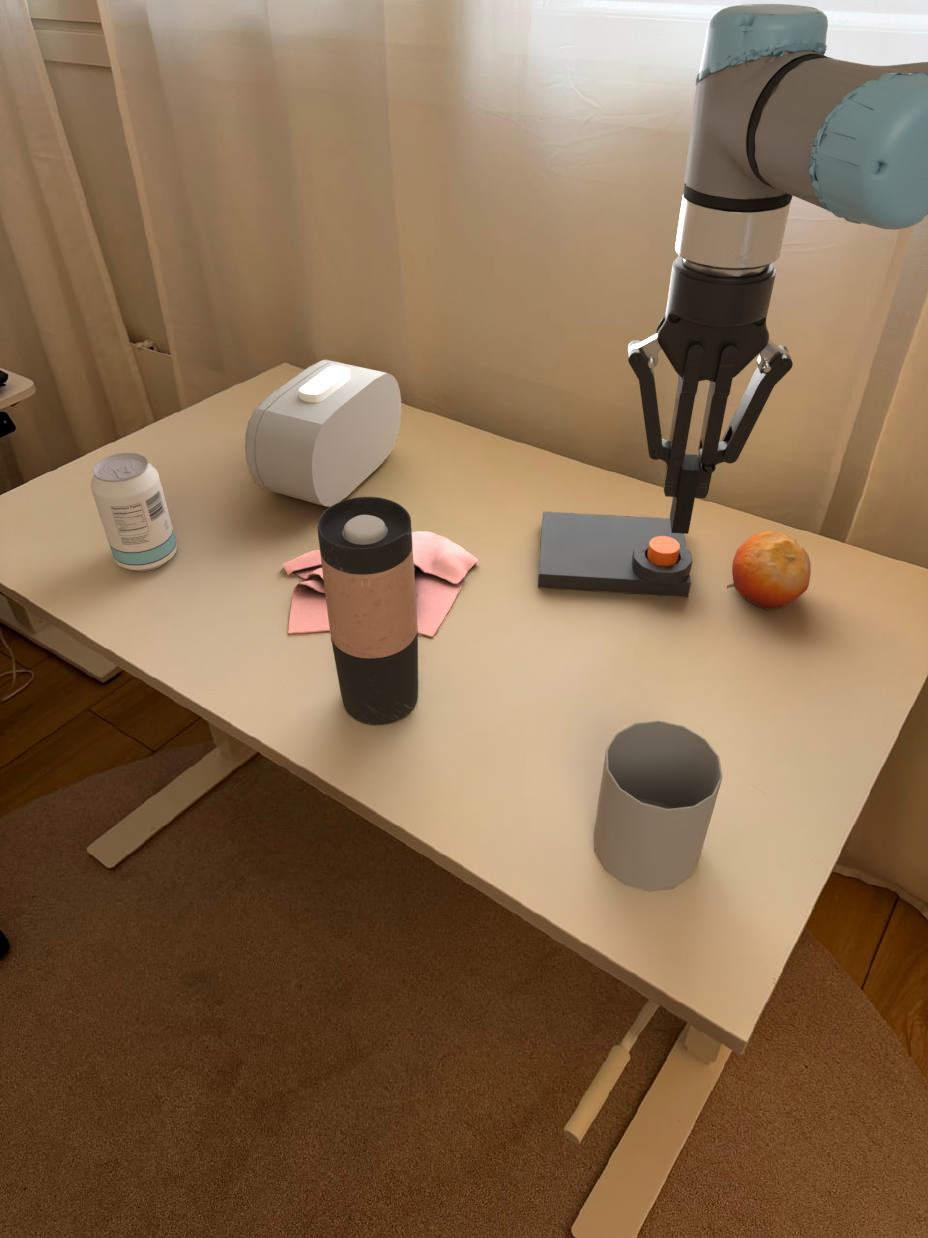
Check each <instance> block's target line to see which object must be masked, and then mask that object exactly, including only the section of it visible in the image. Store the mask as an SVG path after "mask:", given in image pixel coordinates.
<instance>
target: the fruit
mask: <svg viewBox="0 0 928 1238" xmlns="http://www.w3.org/2000/svg"><path fill="white" fill-rule="evenodd" d="M811 565H812V564H811V560H810V556H809V554H808V552H807V550H806V549H805V548H804V547H803V546H801V545H800V544H799V543H798V541H797V539H795V538H793V537H792V536H789V535H786V534H783V533H779V532H776V531H773V530H765V531H762V532H759V533H755V534H753V535H751V536H750V537H749V538H747V539H746V540H745V541H744V542H742V544H741V545H740V546H739V547H737V549H736V551H735V554H734V557H733V560H732V565H731V568H732V569H731V574H732V575H731V576H732V583H730V584H727V585H726V589H728V588H733V587H734V589H735V590H736V592H737V593H739V595H741V597H742V598H743V599H745V600H746V601H748V602H749V603H752V604H754V605H755V606H758V607H759V608H761V609H762V610H773V609H777V608H781V607H783V606H786V605H788V604H790V603H793V602H794V601H795V600H797V599H798V598H800V597H801V596H802V595H803V594H804V593H805V592H807V590H808V588H809V586H810V581H811V574H812V573H811V572H812V569H811V568H812V566H811Z"/></svg>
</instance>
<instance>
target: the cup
mask: <svg viewBox="0 0 928 1238" xmlns="http://www.w3.org/2000/svg"><path fill="white" fill-rule="evenodd" d="M723 778H724V776H723V770H722V764H721V759H720V756H719V755H718V753H717V751H715V750H714V748H713V746H711V744H710V742H708V740H707V739H706V738H705V737H703V736H701V735H700V734H698V733H696V732H695V731H693V730H691V729H690V728H688V727H686V726H684V725H681V724H676V723H671V722H667V721H664V720H653V721H651V720H650V721H642V722H634V723H633V724H631V725H629V726H626V727H625V728H624V729H622V730H620V731H618V732H616V733H615V734H614V736H613V737H612V740H611V741H610V742H609V744H608V746H607V747H606V749H605V754H604V760H603V766H602V773H601V780H600V788H599V794H598V795H599V796H598V800H597V801H598V802H597V808H596V814H595V822H594V828H593V848H594V849H593V850H594V853H595V855H596V857H597V859H598V860H599V862H600V864H601V865H602V867H603V870H604V871H606V873H608V874H610V875H611V876H612V877H614V878H615V879H616V880H618V881H619V882H621V883H622V884H623V885H625V886H628V887H632V888H635V889H640V890H643V891H647V892H655V891H664V890H672V889H675V888H676V887H678V886H679V885H681V884H682V883H684V882H685V881H687V880H689V878H691V877H692V876H693V874H694V872H695V869H696V867H697V866H698V865H697V864H698V863H699V860H700V858H701V855H702V851H703V847H704V843H705V840H706V837H707V834H708V830H709V826H710V823H711V819H712V816H713V813H714V809H715V805H716V802H717V799H718V795H719V792H720V788H721V785H722V781H723Z"/></svg>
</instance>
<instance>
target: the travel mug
mask: <svg viewBox="0 0 928 1238" xmlns="http://www.w3.org/2000/svg"><path fill="white" fill-rule="evenodd" d="M317 521H318V522H317V537H318V545H319V549H320V555H321V563H322V571H323V579H324V587H325V595H326V603H327V611H328V619H329V628H330V631H329V635H330V641H331V646H332V653H333V658H334V663H335V670H336V674H337V679H338V686H339V690H340V696H341V701H342V704H343V708H344V710H345V711H346V713H347V715H349V716H350V717H351V718H352V719H353V720H355V721H357V722H359V723H362V724H364V725H369V726H386V725H391V724H395V723H396V722H397V723H398V722H399V721H401V720H403V719H405V718H406V717H407V716H409V715H410V714H411V713H412V712H413V710H414V709H415V707H416V705H417V703H418V699H419V633H418V623H417V608H416V592H415V576H414V561H413V545H412V533H413V529H412V518H411V515H410V513H409V511H407V509H406V508H405V507H404V506H402V505H401V504H400V503H398V502H396V501H394V500H391V499H388V498H384V497H377V496H359V497H352V498H351V497H350V498H348V499H343V500H341V501H340V502H339V503H336V504H334V505H332V506H331V507H329V506H328V508H327V509H326V510H324V511H323V512H322V513H321V515H320V517H319V519H318V520H317Z"/></svg>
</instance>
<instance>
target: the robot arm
mask: <svg viewBox="0 0 928 1238" xmlns="http://www.w3.org/2000/svg"><path fill="white" fill-rule="evenodd" d="M828 27H829V20H828V16H827V14H825V13H824V11H822V10H820V9H818V8H817V7H813V6H807V5H801V4H787V3H786V4H785V3H748V4H747V3H746V4H738V5H737V4H736V5H731V6H726V7H725V8H721V9H720V10H718V11H717V12H716V13H715V14H714V15H713V17H712V18H710V21H709V23H708V25H707V29H706V33H705V39H704V40H705V41H704V45H703V51H702V55H701V61H700V67H699V71H698V73H697V75H696V77H695V82H694V84H695V85H694V86H695V92H694V101H693V110H692V116H691V124H690V125H691V126H690V132H689V140H688V149H687V156H686V157H687V158H686V167H685V172H684V180H683V182H684V186H683V191H682V199H681V205H680V211H679V217H678V218H679V219H678V225H677V232H676V238H675V239H676V240H675V245H674V250H675V252H676V254H677V255H678V256H677V257H676V258H675V259H674V260H673V262H672V266H671V273H670V281H669V287H668V295H667V301H666V302H667V303H666V308H665V313H664V315H663V318H662V319H661V320H660V321H659V323H658V325H657V328H656V333H655V334H653V335H651V336H649V337H647V338H645V339H644V340H642V341H640V340H638V339H634V340H631V341H630V342H629V343H628V345H627V359H628V360H627V361H628V365H629V366H630V367H631V369H632V371H633V373H634V374H635V376H636V378H637V381H638V383H639V393H640V398H641V406H642V414H643V421H644V427H645V428H644V429H645V435H646V436H645V437H646V443H647V451H648V456H649V458H650V459H651V460H653V461H659V460H660V461H663V462H664V463H665V468H664V475H663V482H662V485H663V486H662V487H663V493H664V496H665V498H666V497H668V498H669V497H670V498H672V501H671V506H670V513H669V518H670V523H671V533H682V534H684V535H689V532H690V527H691V522H692V516H693V511H694V507H695V501H696V499H705V498H707V496H708V495H709V490H710V485H711V481H712V476H713V473H714V472H715V471H716V467H717V465H719V464H722V463H726V464H731V465H732V464H734V463H736V462H737V461H738V459H739V458H740V455H741V453H742V451H743V449H744V447H745V445H746V444H747V441H748V439H749V437H750V435H751V433H752V431H753V430H754V427H755V426H756V423H757V422H758V419H759V417H760V415H761V413H762V412H763V410H764V407H765V405H766V404H767V402H768V400H769V398H770V396H771V394H772V391H773V389H774V387H775V386H776V385H777V384H778V383H779V382H780V381H781V380H782V379H783V378H784V377H785V376H786V375H787V374H788V373H789V372H790V371H791V370H792V368H793V367H794V366H793V365H794V363H793V360H792V357H791V355H790V352H789V349H788V348H787V346H785V345H778V344H776V343H775V342H773V341H772V340H771V339H770V332H769V330H768V326H767V317H768V312H769V309H770V303H771V299H772V294H773V289H774V285H775V280H776V275H777V268H776V266H775V264H774V263H775V262H776V261H777V260H779V258H780V256H781V251H782V246H783V242H784V238H785V232H786V227H787V223H788V218H789V213H790V207H791V202H792V200H793V197H795V198H798V199H799V200H802V201H805V202H807V203H809V204H812V205H814V206H817V207H819V208H821V209H823V210H825V211H827V212H829V213H832V214H833V215H834V216H835V217H837V219H838V218H839V219H844V220H845V221H846V222H849V223H852V224H858V225H862V224H864V225H867V226H870V227H875V228H879V229H882V230H894V231H896V230H903V229H908V228H911V227H913V226H915V225H918V224H919V223H921V222H923V220H924V219H925V217H927V216H928V61H922V62H921V61H920V62H911V63H902V64H890V65H873V64H872V65H871V64H864V63H858V62H853V61H847V60H842V59H837V58H833V57H829V56H827V55H825V54H826V51H827V49H828V48H827V47H828V46H827V35H828V34H827V32H828V29H829V28H828ZM661 350H662V352H663V353H664V355H665V357H666V358H667V361H668V362H669V363H670V365H671V367H672V368H673V370H674V372H675V373H676V374H677V375H678V376H677V377H678V379H677V385H676V386H677V388H676V393H675V399H674V405H673V411H672V412H673V413H672V419H671V424H670V432H669V437H668V439H666V438H663V436H662V428H661V419H660V409H659V404H658V396H657V387H656V378H655V371H654V368H655V367H656V366H657V365H658V363H659V352H660V351H661ZM757 356H758V357H757ZM756 358H757V359H756ZM754 359H756V365H757V367H756V368H755V371H754V372H753V374H752V376H751V378H750V381H749V382H748V385H747V387H746V388H745V391H744V393H743V395H742V397H741V399H740V401H739V403H738V405H737V407H736V409H735V411H734V414H733V415H732V418H731V420H730V422H729V424H728V427H727V428H726V430H725V432H724V435H723V437H722V439H721V433H722V430H723V425H724V424H723V423H724V418H725V415H726V414H725V413H726V409H727V404H728V398H729V396H730V395H731V394H730V393H731V390H732V389H731V388H732V384H733V379H734V378H736V377H737V376H738V375H739V374H740V373H741V372H743V370H744V369H745V368H746V367H747V366H748V365H749V364H750V363H751V362H752V361H753V360H754ZM702 381H709V386H708V392H707V398H706V402H705V409H704V414H703V420H702V427H701V431H700V437H699V441H698V448H697V450H698V451H697V452H698V453H697V454H692V453H686V452H687V445H688V439H689V434H690V428H691V422H692V417H693V411H694V405H695V400H696V395H697V393H698V388H699V387H698V386H699V383H700V382H702Z"/></svg>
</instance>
